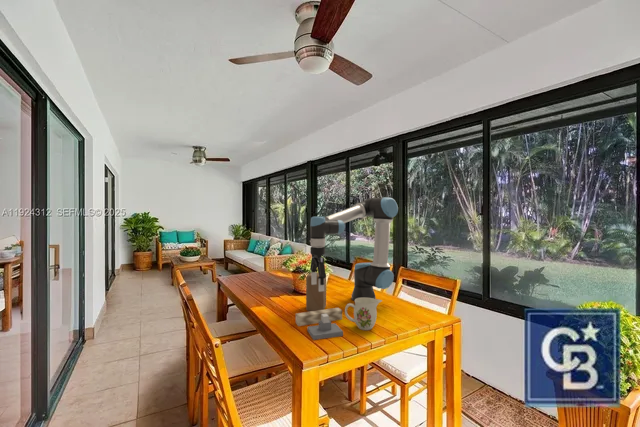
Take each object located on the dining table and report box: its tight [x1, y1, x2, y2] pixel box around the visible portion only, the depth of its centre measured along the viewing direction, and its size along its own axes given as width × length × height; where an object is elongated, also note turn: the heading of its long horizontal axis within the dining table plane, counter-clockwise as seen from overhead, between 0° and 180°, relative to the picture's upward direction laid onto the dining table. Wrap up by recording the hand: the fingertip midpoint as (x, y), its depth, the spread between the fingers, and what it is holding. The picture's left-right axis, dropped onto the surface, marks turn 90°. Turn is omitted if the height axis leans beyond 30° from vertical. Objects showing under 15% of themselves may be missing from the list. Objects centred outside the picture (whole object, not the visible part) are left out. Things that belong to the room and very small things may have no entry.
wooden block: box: [305, 272, 327, 312], centre depth 169 cm, size 10×10×20 cm
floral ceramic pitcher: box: [344, 297, 383, 331], centre depth 143 cm, size 11×18×14 cm, turn 76°
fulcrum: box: [307, 314, 344, 341], centre depth 136 cm, size 14×10×8 cm
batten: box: [295, 307, 343, 327], centre depth 151 cm, size 24×4×5 cm, turn 113°
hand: (317, 287), depth 151 cm, fingers open, 13 cm apart
